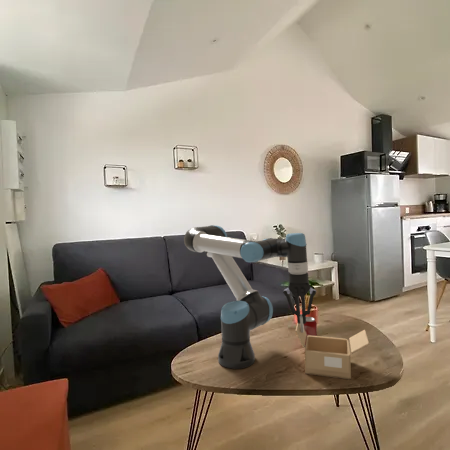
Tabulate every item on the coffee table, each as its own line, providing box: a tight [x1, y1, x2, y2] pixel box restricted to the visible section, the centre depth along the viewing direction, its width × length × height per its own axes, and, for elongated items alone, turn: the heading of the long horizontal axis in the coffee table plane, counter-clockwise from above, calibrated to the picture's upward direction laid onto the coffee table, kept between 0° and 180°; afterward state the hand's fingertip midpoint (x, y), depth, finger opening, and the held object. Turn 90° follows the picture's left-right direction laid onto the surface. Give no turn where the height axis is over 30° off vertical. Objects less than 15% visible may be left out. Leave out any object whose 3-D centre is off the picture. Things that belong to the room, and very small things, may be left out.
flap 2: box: [348, 329, 370, 354], centre depth 119 cm, size 7×13×1 cm
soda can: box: [304, 316, 318, 345], centre depth 144 cm, size 7×7×12 cm
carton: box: [304, 335, 352, 380], centre depth 123 cm, size 16×15×9 cm
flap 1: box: [295, 323, 307, 349], centre depth 126 cm, size 7×13×1 cm
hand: (302, 331), depth 126 cm, fingers closed
